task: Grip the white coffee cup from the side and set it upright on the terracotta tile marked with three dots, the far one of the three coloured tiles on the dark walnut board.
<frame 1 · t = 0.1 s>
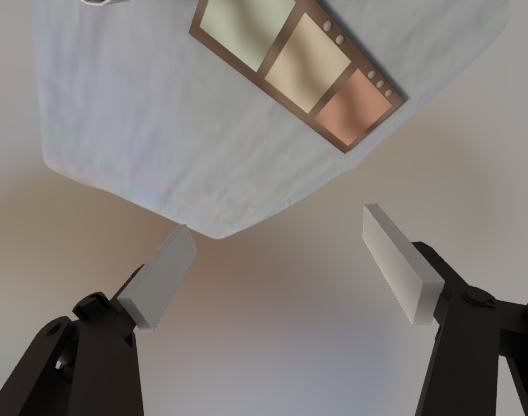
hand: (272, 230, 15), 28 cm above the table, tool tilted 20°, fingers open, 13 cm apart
tile board: (305, 68, 31), on the table
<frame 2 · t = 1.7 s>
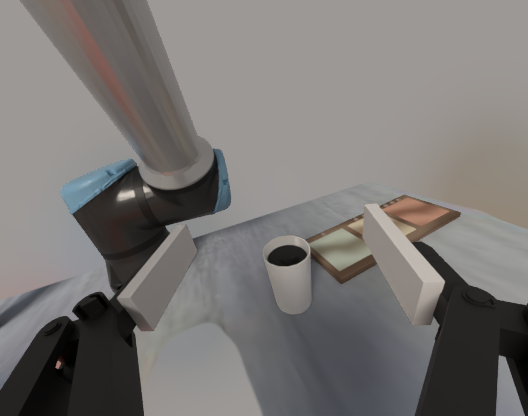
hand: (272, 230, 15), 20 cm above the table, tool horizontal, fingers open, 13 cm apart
white coffee cup: (293, 298, 33), on the table
tile board: (379, 231, 43), on the table
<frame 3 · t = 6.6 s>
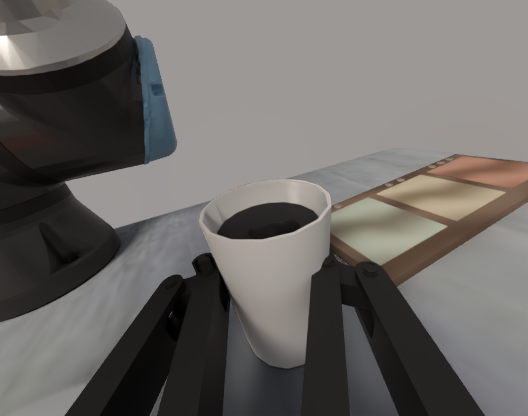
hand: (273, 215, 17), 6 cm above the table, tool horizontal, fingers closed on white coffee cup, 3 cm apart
white coffee cup: (285, 324, 15), on the table, touching gripper
tile board: (433, 200, 26), on the table
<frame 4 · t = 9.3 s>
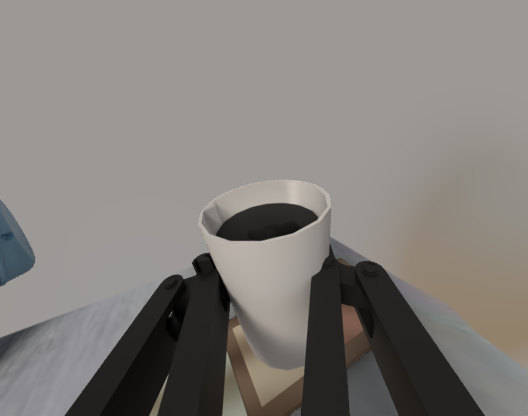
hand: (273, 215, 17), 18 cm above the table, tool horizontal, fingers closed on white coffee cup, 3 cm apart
white coffee cup: (285, 326, 15), point 12 cm above the table, touching gripper
tile board: (279, 344, 25), on the table
when the fingers open (9 cm above the table, at t = 12.1 s): white coffee cup drops 1 cm, resting on tile board.
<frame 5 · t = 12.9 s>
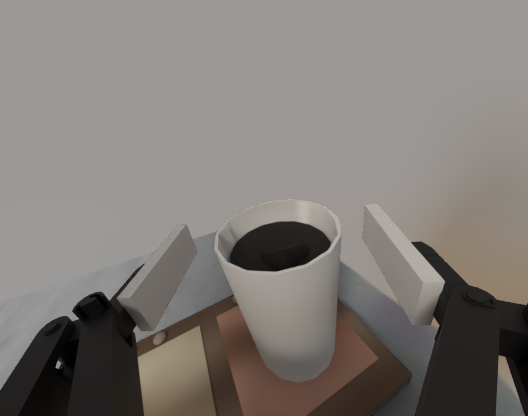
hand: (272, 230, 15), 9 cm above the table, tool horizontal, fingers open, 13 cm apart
white coffee cup: (295, 337, 16), point 1 cm above the table, touching tile board
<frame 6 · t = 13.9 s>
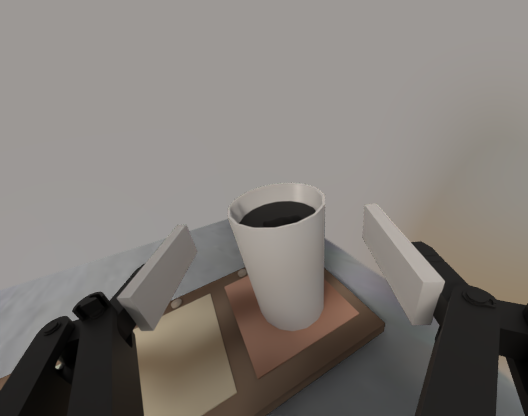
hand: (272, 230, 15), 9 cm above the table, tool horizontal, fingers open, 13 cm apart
white coffee cup: (291, 300, 19), point 1 cm above the table, touching tile board
tile board: (169, 369, 16), on the table
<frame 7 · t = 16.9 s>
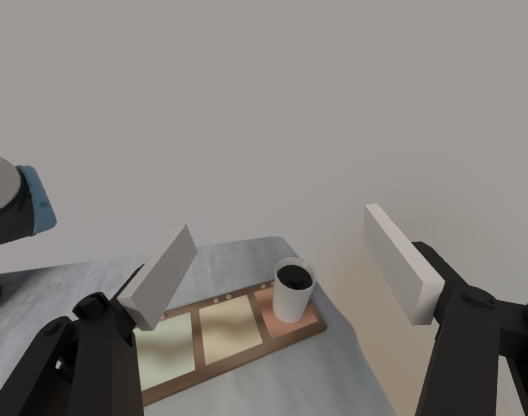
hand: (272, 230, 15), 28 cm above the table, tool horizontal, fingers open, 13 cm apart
white coffee cup: (287, 308, 38), point 1 cm above the table, touching tile board
tile board: (229, 328, 36), on the table
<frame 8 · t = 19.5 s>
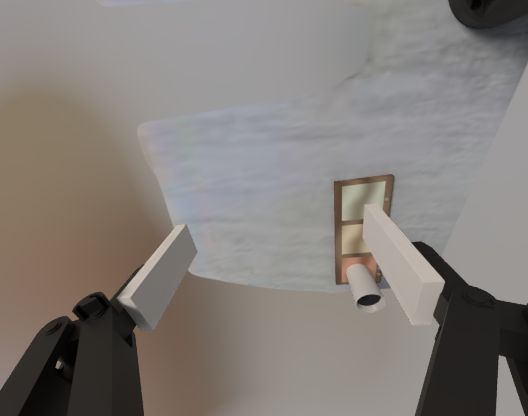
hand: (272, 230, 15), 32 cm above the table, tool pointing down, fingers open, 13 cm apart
white coffee cup: (356, 270, 57), point 1 cm above the table, touching tile board
tile board: (359, 236, 52), on the table
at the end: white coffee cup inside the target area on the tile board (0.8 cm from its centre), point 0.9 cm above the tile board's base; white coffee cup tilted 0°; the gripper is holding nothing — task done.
